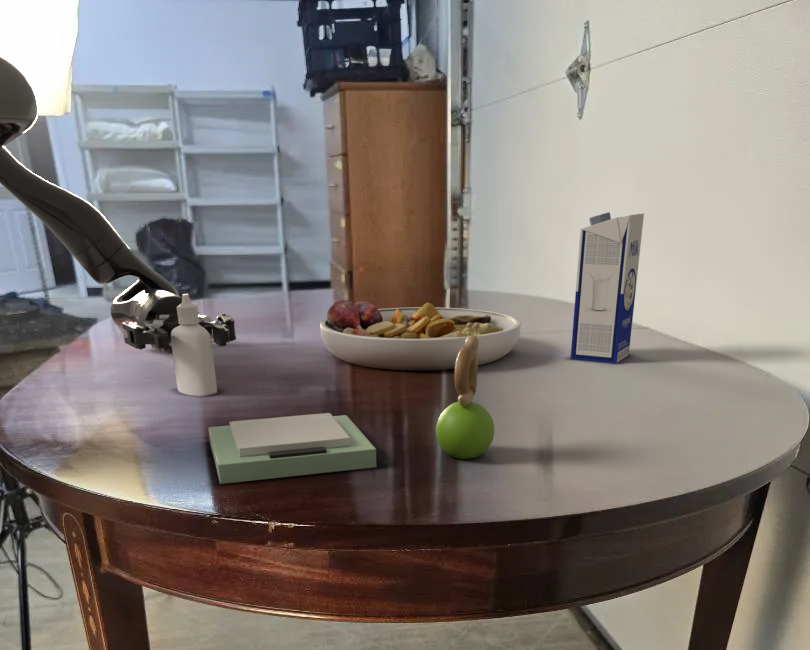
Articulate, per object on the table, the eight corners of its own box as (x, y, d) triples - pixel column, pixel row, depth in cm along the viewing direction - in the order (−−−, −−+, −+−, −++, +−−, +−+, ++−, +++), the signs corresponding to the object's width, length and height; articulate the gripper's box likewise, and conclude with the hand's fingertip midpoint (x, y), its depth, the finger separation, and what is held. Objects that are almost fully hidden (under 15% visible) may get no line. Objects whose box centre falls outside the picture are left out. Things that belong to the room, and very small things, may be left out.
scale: (220, 486, 67) (216, 455, 66) (210, 446, 77) (207, 419, 76) (376, 469, 70) (376, 440, 69) (347, 433, 81) (346, 407, 80)
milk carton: (615, 365, 110) (631, 213, 101) (569, 361, 113) (581, 213, 104) (628, 356, 115) (644, 211, 107) (584, 353, 118) (597, 211, 110)
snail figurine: (497, 447, 76) (502, 322, 71) (489, 469, 70) (494, 334, 65) (443, 444, 77) (444, 321, 72) (430, 465, 71) (431, 332, 66)
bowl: (522, 339, 129) (525, 290, 126) (514, 379, 102) (517, 318, 99) (348, 335, 134) (346, 288, 131) (296, 373, 107) (292, 315, 104)
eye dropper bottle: (210, 386, 100) (199, 290, 95) (219, 396, 96) (208, 295, 91) (176, 390, 99) (163, 292, 94) (183, 400, 94) (169, 298, 89)
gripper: (107, 296, 101) (127, 312, 88) (216, 289, 107) (250, 303, 94) (116, 353, 105) (138, 378, 91) (221, 344, 110) (256, 365, 97)
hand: (195, 340), depth 92 cm, fingers open, 6 cm apart
